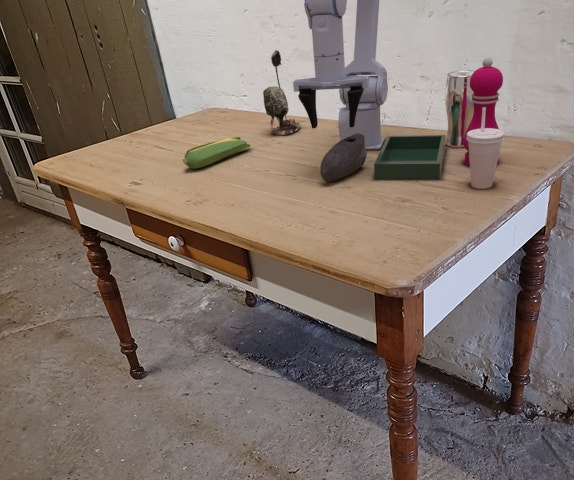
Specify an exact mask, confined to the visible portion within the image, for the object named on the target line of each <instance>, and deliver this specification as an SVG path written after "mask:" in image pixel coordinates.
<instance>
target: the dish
mask: <svg viewBox="0 0 574 480" xmlns="http://www.w3.org/2000/svg"><path fill="white" fill-rule="evenodd" d="M446 138H447V134H419V135H418V134H416V135H413V134H412V135H387V136H386V138H385V140H384V142H383V144H382V146H381V148H380V151H379V152H378V155H377V157H376V159H375V160H374V164H373V169H374V170H373V174H374V180H441V176H442V175H441V174H442V170H443V169H442V168H443V163H444V159H445V158H444V157H445V152H446Z"/></svg>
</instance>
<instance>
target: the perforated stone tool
mask: <svg viewBox="0 0 574 480" xmlns="http://www.w3.org/2000/svg"><path fill="white" fill-rule="evenodd" d="M364 141H365V137H364V135H362V134H359V133H356V134H354V135H351V136H349V137H347V138H345V139H343V140H341V141H340V140H339V142H337V143H335V144H334V145H332V147H331V148H330V149H329V150H328V151H327V152H326V153H325V154H324V155H323V156H322V157H323V158H322V160H321V162H320V169H319V170H320V171H319V173H320V176H321V178H322V179H323V180H324V181H325V182H336V181H339V180H342V179H343V178H346V177H348V176H350V175H352V174H354V173H355V172H357V170H359V169H360V168H361V167H363V166H364V165H365V162H366V160H367V156H368V152H367V149H366V148H365V144H364Z"/></svg>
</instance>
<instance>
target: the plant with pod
mask: <svg viewBox="0 0 574 480" xmlns="http://www.w3.org/2000/svg"><path fill="white" fill-rule="evenodd" d="M270 60H271V64H272V66H273V67H274V68H275V74H276V80H277V85H278V86H274V85H273V86H268V87H266V88H264V90H263V92H262V95H263V105H264V109H265V113H266V115H267V116H269V117H271V119H270V131H271V133H272V134H273V135H275V136H286V135H290V134H293V133H295V132H296V131H298V130H299V128H301V127H302V126H303V125H302V124H301V123H299V121H297V122H296V119H295V118H293V117H292V118H289V119H287V115H288V113H289V111H290V110H289V104H288V103H289V102H288V100H287V96H286V94H285V92H284V89H282V87H281V84H280V79H279V73H278V67H279V66H282V57H281V53H280V51H279V50H277V49H275V50H274V51H273V52H272V54H271V57H270ZM284 117H285V119H284ZM275 118H276V120H277V122H278V125H279V126H277V127H274V122H275Z"/></svg>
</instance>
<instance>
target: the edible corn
mask: <svg viewBox="0 0 574 480" xmlns="http://www.w3.org/2000/svg"><path fill="white" fill-rule="evenodd" d="M251 147H252V145H251V144H249V143H248V142H247V141H245V140H243V139H242V138H241V137H240V136H238V137H228V138H224V139H220V140H216V141H212V142H208V143H205V144H201V145H199V146H198V145H197V146H195V147H192V148H190V149H188V150H187V151H186V152H185V154H184V158H183V159H182V162H183V164H184V165H185V166H186V167H188V168H190V169H194V170H195V169H202V168H204V167H207V166H210V165H212V164H215V163H217V162H220V161H221V160H224V159H225V158H228V157H230V156H233V155H235V154H238V153H241V152H243V151H245V150H248V149H250V148H251Z"/></svg>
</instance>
